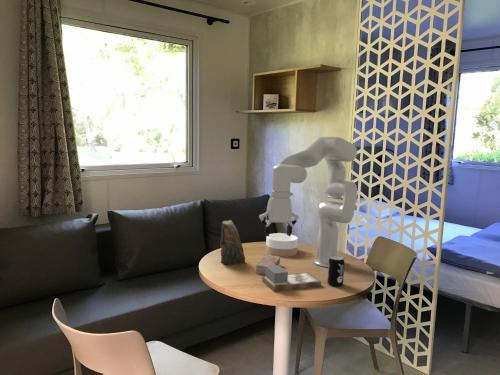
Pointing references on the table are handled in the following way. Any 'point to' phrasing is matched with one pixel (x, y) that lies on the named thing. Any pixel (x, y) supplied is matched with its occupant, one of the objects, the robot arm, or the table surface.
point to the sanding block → (276, 275)
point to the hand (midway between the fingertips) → (277, 235)
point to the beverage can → (336, 271)
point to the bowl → (281, 244)
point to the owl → (231, 245)
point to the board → (294, 282)
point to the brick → (266, 263)
